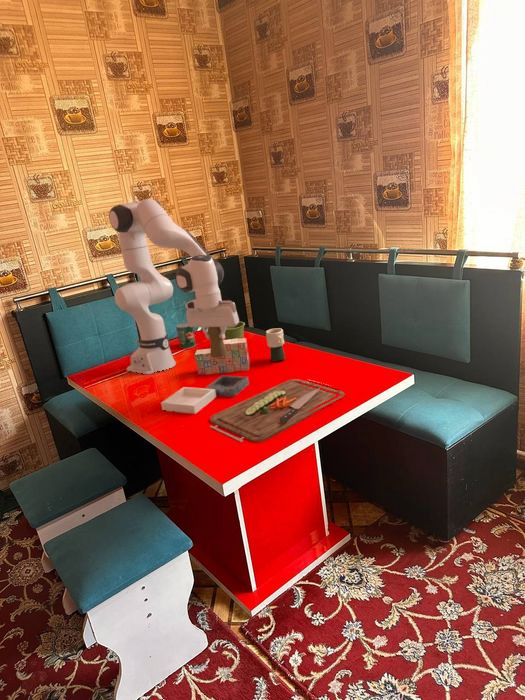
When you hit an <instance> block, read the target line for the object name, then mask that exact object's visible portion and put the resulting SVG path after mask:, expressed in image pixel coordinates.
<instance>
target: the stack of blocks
mask: <svg viewBox="0 0 525 700" xmlns="http://www.w3.org/2000/svg"><path fill="white" fill-rule="evenodd" d="M247 341H248V340H247V338H246V337H244V338H241V339H238V338H237V339H230V340H225V339H223V342H224V345H225V349H226V352H227V355H225V356H222V357H217V358H213V357H211V348H206V349H205V348H204V349H196V351H195V353H194V358H195V364H196V369H197V375H198V376H204V375H214V374H215V375H216V374H224V373H233V372H242V371H243V372H245V371H249V370H250V365H251V363H250V357H249V356H250V355H249V349H248V342H247Z"/></svg>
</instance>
